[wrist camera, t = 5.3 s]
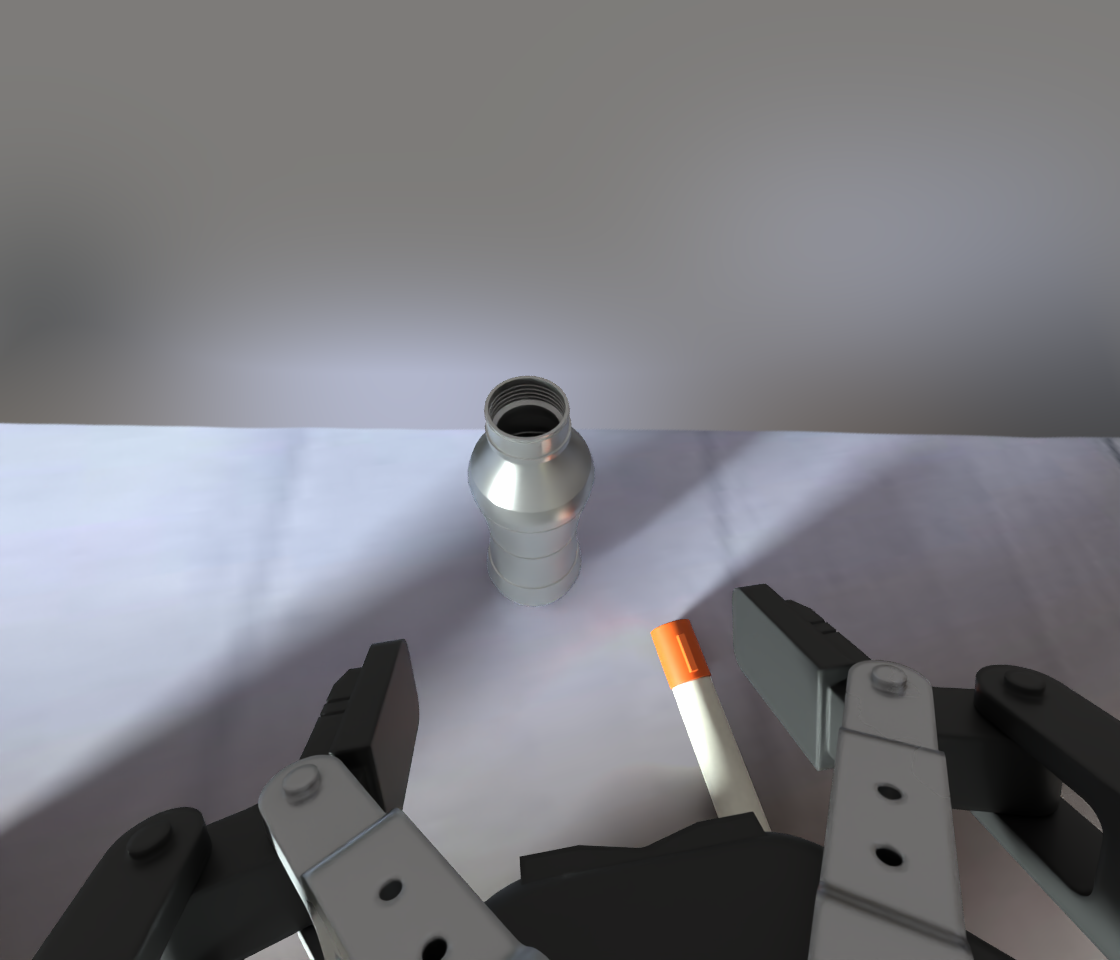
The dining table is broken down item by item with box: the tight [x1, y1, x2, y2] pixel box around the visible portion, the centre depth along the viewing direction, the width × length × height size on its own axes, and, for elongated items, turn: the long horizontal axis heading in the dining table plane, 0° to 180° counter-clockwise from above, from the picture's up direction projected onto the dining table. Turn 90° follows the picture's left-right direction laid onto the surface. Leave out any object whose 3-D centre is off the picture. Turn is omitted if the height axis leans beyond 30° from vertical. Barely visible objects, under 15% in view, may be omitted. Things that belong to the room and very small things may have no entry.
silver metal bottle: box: [468, 376, 595, 607], centre depth 32 cm, size 6×7×20 cm
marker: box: [651, 619, 771, 832], centre depth 34 cm, size 16×3×3 cm, turn 15°
